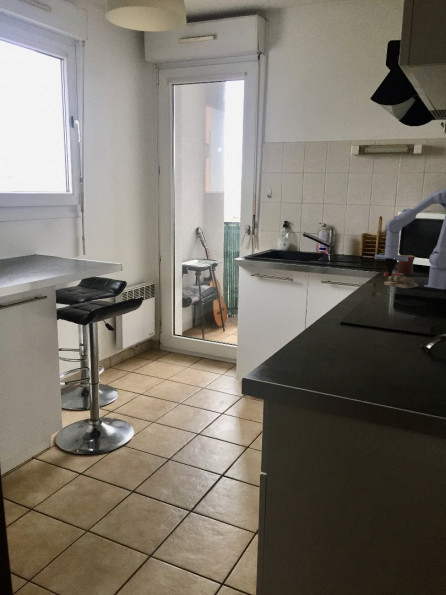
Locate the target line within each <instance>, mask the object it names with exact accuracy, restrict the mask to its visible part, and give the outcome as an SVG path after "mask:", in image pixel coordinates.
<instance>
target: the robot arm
mask: <svg viewBox="0 0 446 595" xmlns="http://www.w3.org/2000/svg"><path fill="white" fill-rule="evenodd" d="M437 204H439V206H442V207H443V209H444V211H446V188H445V189H444V188H440V189H438V190H437V191H434V192H432V193H431V194H430V195H428V196H427V197H426V198H424V199H423V200H422V201H421V202H419V203H418V204H416V205H415V206H414V207H413V208H404V209H403V210H402V212H401V213H399V214H398V215H394V216H393V219H389V220H388V221H387V222H386V223H385V225H384V226H385V230H386V236H385V248H384V254H374V260H384V264H385V266H386V268H387V273H388V276H387V277H390V276H391V274H392V273H393V271H394V268H395V267H396V266H395V265H396V263H397V264H398V261H408V257H404V256H398V255H399V248H400V247H399V246H400V235H401V234H400V232H401V231H402V230H403V227H406V226H407V225H409V224H410V223H412V222H413V221H414V220H416V218H417V216H418V214H420V213H421V212H422V211H424V210H426V209H427V208H429V207H431V206H432V205H437ZM428 261H429V262H428V263H429V264H430V266H429V274H428V284H424V287H425V288H430V289H436V290H437V289H438V290H446V214H445V215H444V219H443V223H442V226H441V229H440V234H439V237H438V240H437V244H436V246H435V247H434V249H433V251H432V253H431V254H430V255H429V258H428Z"/></svg>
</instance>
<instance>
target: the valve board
mask: <svg viewBox="0 0 446 595" xmlns="http://www.w3.org/2000/svg"><path fill="white" fill-rule="evenodd" d="M415 282H416V281H415V279H414V278H410V277H409V278H408V276H388V281H384V282H383V285H385V286H391V287H396V288H397V287H398V288H402V289H411V288H412V289H413V288H416V287H417V288H418V287H419V283H415Z"/></svg>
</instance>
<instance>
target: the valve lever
mask: <svg viewBox="0 0 446 595" xmlns="http://www.w3.org/2000/svg"><path fill="white" fill-rule="evenodd" d="M383 276H384V277H389V276H388V272H383ZM391 276H395V277H397V276H404V273H400V274H398V273H396V272H395V273H393V272H392V274H391ZM404 277H405V276H404Z"/></svg>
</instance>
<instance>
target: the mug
mask: <svg viewBox="0 0 446 595" xmlns="http://www.w3.org/2000/svg"><path fill="white" fill-rule="evenodd" d="M398 256H404V257H408V261H397V263H396V265H395V266H394V267H396V268H397V270H396V271H397V274H400V273H404V277H410V276H412V274H413V272H414V270H413V269H414V261H415V258H416V256H415V255H410V254H398Z"/></svg>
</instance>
